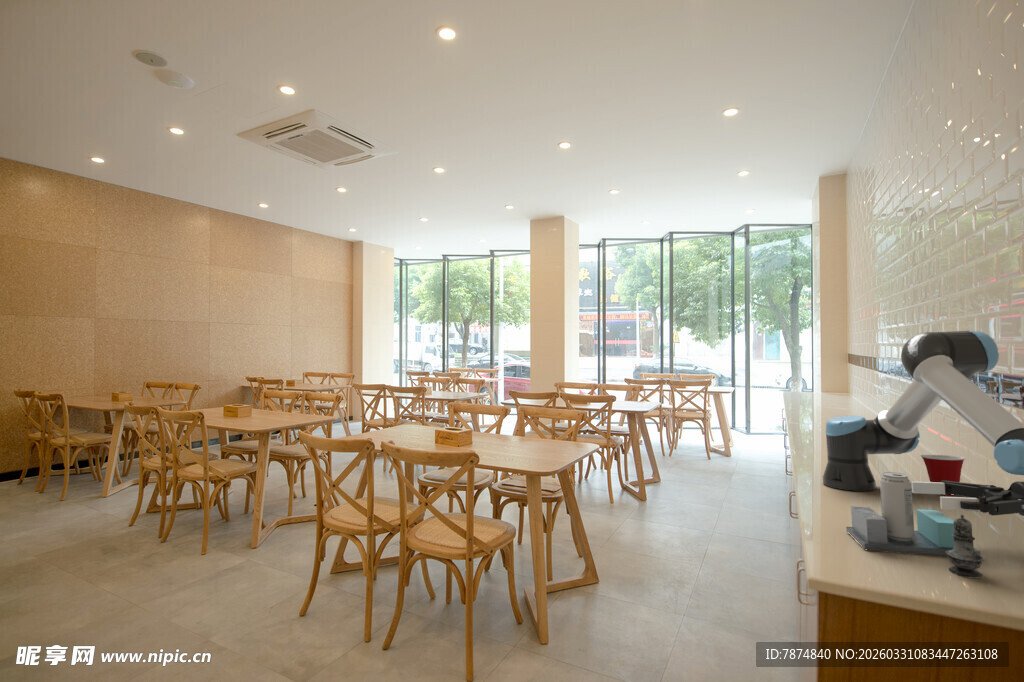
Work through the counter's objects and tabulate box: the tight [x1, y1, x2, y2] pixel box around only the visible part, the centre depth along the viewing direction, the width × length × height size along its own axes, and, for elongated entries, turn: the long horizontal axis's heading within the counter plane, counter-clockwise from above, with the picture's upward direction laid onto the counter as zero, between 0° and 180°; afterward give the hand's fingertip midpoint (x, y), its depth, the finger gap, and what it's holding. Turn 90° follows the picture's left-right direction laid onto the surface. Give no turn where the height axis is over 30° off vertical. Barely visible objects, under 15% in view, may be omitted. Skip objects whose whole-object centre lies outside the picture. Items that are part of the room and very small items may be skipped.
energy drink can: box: [879, 471, 915, 541], centre depth 119 cm, size 6×6×15 cm
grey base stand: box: [845, 505, 981, 557], centre depth 119 cm, size 12×22×7 cm, turn 73°
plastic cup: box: [920, 454, 966, 496], centre depth 159 cm, size 11×11×12 cm
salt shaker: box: [946, 513, 985, 579], centre depth 103 cm, size 6×6×12 cm
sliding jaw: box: [916, 508, 955, 548], centre depth 117 cm, size 10×4×6 cm, turn 163°
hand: (925, 494), depth 117 cm, fingers open, 13 cm apart
